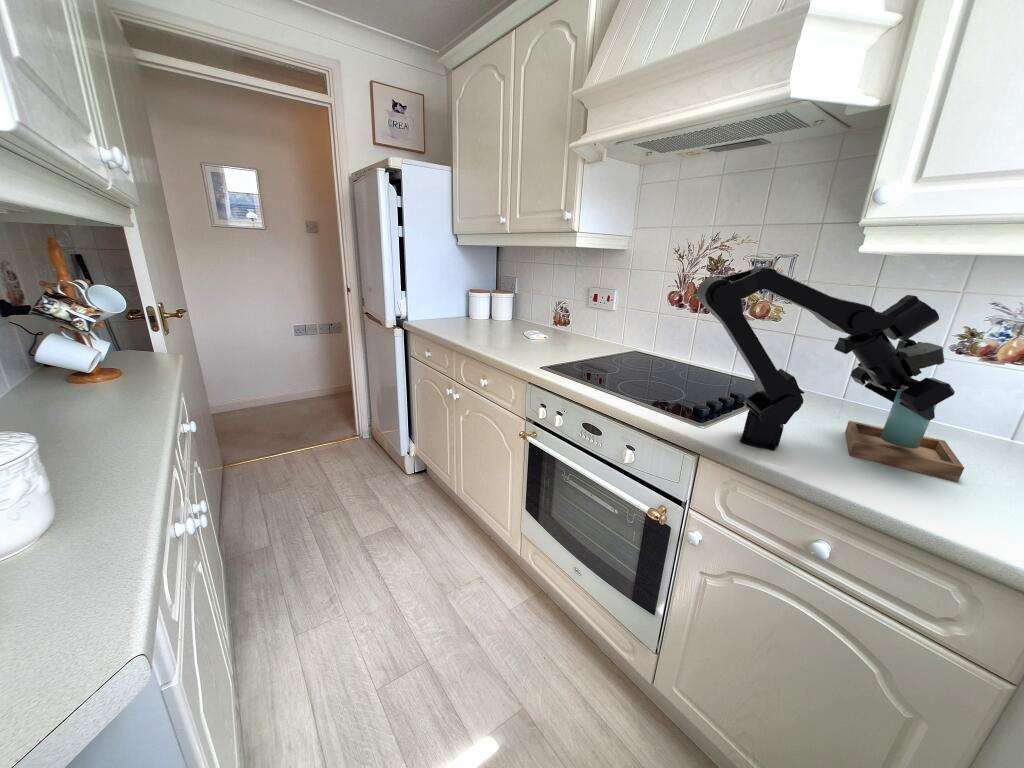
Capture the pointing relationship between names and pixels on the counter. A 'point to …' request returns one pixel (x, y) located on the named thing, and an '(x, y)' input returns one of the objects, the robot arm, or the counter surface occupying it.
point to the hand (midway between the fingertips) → (918, 412)
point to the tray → (903, 452)
